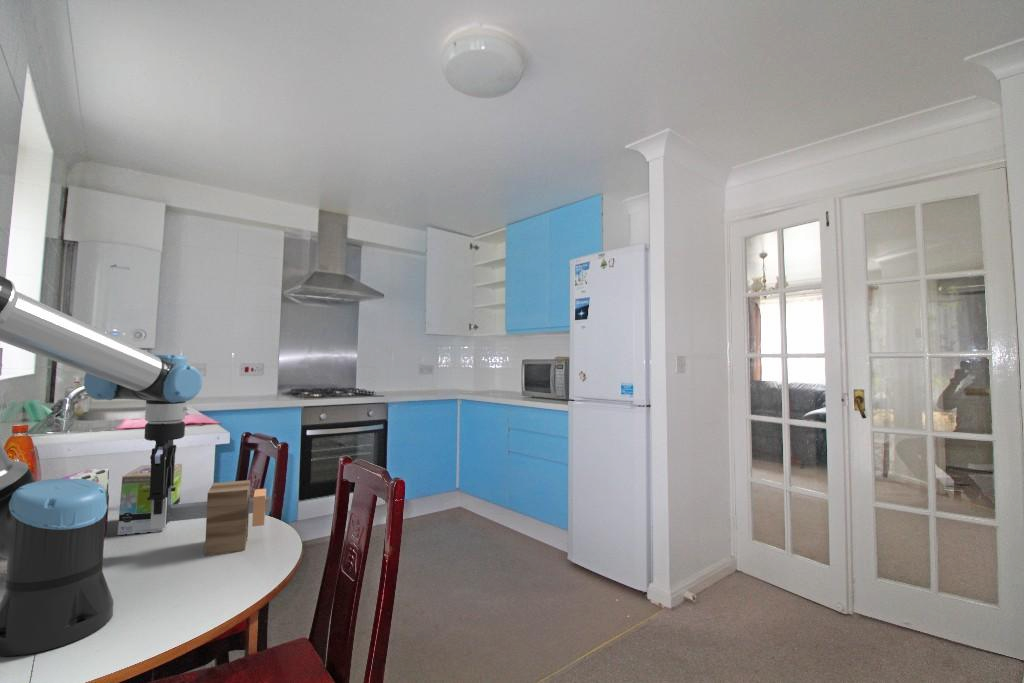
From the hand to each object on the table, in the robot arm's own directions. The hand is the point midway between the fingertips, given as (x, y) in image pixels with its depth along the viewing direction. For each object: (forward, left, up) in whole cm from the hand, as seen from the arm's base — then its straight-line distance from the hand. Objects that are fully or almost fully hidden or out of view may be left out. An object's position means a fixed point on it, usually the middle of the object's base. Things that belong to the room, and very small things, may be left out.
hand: (160, 524), depth 110 cm
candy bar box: (+15, +19, -7) cm, 25 cm away
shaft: (0, -11, 0) cm, 11 cm away
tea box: (+24, +7, -7) cm, 26 cm away
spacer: (0, -20, -2) cm, 20 cm away
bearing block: (0, -13, -7) cm, 15 cm away
